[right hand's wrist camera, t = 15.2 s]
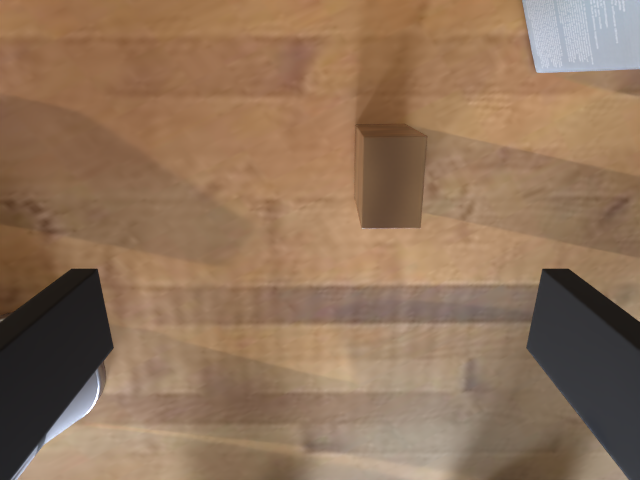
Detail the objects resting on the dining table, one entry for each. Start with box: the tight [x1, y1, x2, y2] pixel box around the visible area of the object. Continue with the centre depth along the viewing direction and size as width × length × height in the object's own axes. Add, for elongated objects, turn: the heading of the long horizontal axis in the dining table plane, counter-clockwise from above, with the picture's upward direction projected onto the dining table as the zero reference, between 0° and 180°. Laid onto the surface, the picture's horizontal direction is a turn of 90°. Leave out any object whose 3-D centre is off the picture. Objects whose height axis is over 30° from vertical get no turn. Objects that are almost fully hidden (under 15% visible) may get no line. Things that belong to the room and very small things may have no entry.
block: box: [354, 124, 427, 229], centre depth 37 cm, size 5×7×9 cm, turn 1°
